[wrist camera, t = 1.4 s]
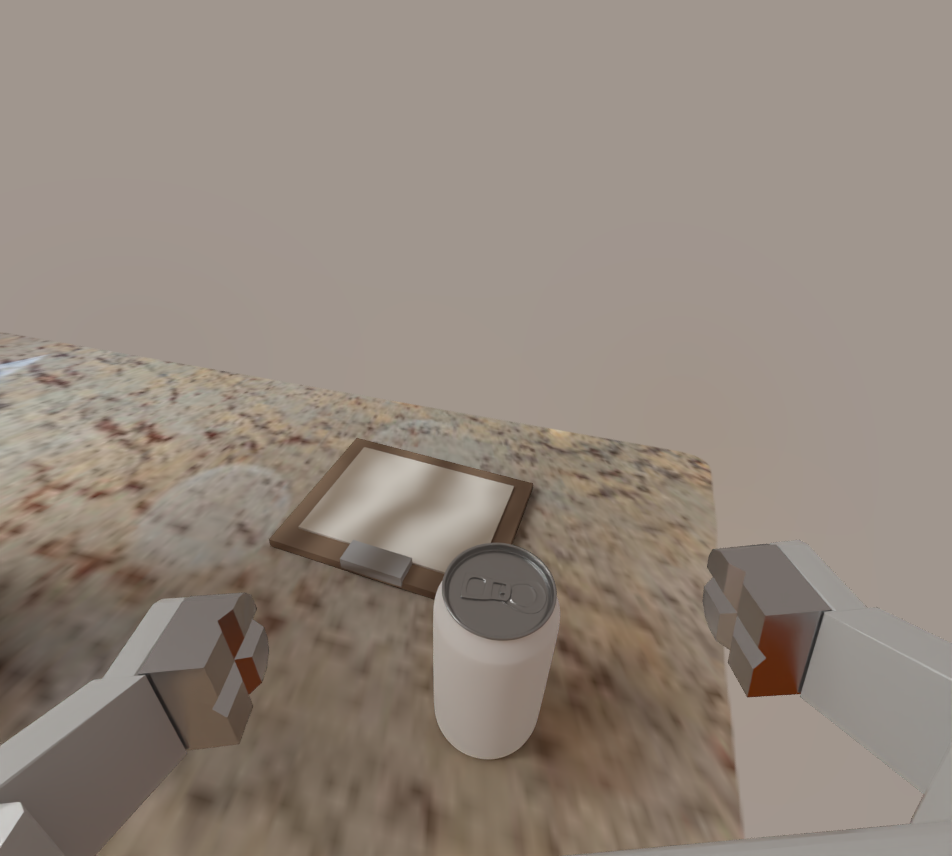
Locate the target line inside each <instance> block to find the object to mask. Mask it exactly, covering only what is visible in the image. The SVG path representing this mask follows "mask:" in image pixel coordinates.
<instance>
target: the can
mask: <svg viewBox="0 0 952 856" xmlns="http://www.w3.org/2000/svg"><path fill="white" fill-rule="evenodd" d="M559 624H560V606H559V601H558V598H557V591H556V585H555V581H554V579H553V576H552V574H551V572H550V571H549V569H548V568H547V566H546V565H545V564H544V563H543V562H542V561H541V560H540V559H539V558H538V557H537V556H535V555H534V554H532V553H531V552H529V551H527V550H525V549H523V548H521V547H518V546H515V545H511V544H506V543H485V544H480V545H476V546H473V547H471V548H469V549H467V550H465V551H463V552H462V553H460V554H459V555H458V556H456V557H455V558H454V559H453V561H452V562H451V563H450V564H449V566H448V567H447V569H446V571H445V574H444V576H443V580H442V582H441V583H440V585H439V587H438V590H437V592H436V596H435V601H434V610H433V675H434V709H435V715H436V720H437V723H438V725H439V728H440V730H441V732H442V733H443V735H444V736H445V738H446V739H447V740H448V741H449V742H450V743H451V744H452V745H453V746H454V747H455V748H456V749H458V750H459V751H461V752H462V753H464V754H466V755H469V756H471V757H475V758H479V759H497V758H501V757H505V756H507V755H509V754H511V753H513V752H515V751H516V750H518V749H519V748H520V747H521V746H522V745H523V744H524V743H525V742H526V741H527V740H528V738H529V737H530V735H531V734H532V732H533V730H534V728H535V726H536V723H537V719H538V715H539V712H540V708H541V703H542V699H543V695H544V691H545V687H546V683H547V679H548V674H549V670H550V666H551V662H552V657H553V653H554V649H555V644H556V640H557V635H558V630H559Z"/></svg>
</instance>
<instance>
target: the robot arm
mask: <svg viewBox="0 0 952 856" xmlns="http://www.w3.org/2000/svg"><path fill="white" fill-rule="evenodd" d="M707 568H708V569H709V571H710V573H711V574H712V576H713V578H712V579H711V580H710V581H709V582H708V583H707V584H706V585H705V586H704V593H703V606H704V613H705V618H706V621H707V623H708V626H709V629H710V631H711V633H712V634H713V636H714V638H715V640H716V641H717V642H719V643H720V644H722V645H723V646H725V647H726V648H728V649H729V650H730V653H729V659H728V664H729V665H730V667H731V669H732V671H733V672H734V675H735V676H736V678H737V680H738V682H739V683H740V685H741V687H742V689H743V690H744V692H745V694H746V696H747V697H760V696H776V695H792V694H801V695H800V697H801V698H802V699H804V700H805V701H806V702H807V703H809V704H810V705H811V706H812V707H814V708H815V709H816V710H817V711H819V712H820V713H821V714H823V715H824V716H825V717H827V718H828V719H829V720H830V721H831V722H833V723H834V724H835V725H837V726H838V727H839V728H840V729H842V730H843V731H844V732H846V733H847V734H848V735H849V736H850V737H852V738H853V739H854V740H855V741H857V742H858V743H859V744H861V745H862V746H863V747H864V748H866V749H867V750H868V751H870V752H871V753H872V754H873V755H875V756H876V757H877V758H878V759H880V760H881V761H882V762H883V763H885V764H886V765H887V766H888V767H890V768H891V769H892V770H894V771H895V772H896V773H897V774H899V775H900V776H901V777H902V778H904V779H905V780H906V781H907V782H909V783H910V784H911V785H913V786H914V787H915V788H916V789H918V790H919V791H920V792H921V793H923V794H924V795H923V797H922V799H921V801H920V803H919V805H918V807H917V809H916V811H915V812H914V815H913V816H912V818H911V822H910V824H902V825H891V826H880V827H869V828H859V829H848V830H837V831H826V832H816V833H804V834H793V835H783V836H773V837H761V838H750V839H739V840H728V841H717V842H706V843H695V844H684V845H673V846H662V847H651V848H640V849H630V850H619V851H608V852H597V853H586V854H575V855H564V856H952V643H950V642H948V641H946V640H944V639H942V638H940V637H938V636H936V635H934V634H932V633H929V632H927V631H926V630H923V629H921V628H919V627H917V626H915V625H913V624H911V623H909V622H907V621H905V620H903V619H900V618H899V617H897V616H894V615H892V614H890V613H888V612H886V611H884V610H882V609H880V608H878V607H876V608H875V607H874V608H867V607H866V605H864V603H863V602H862V601H861V600H860V599H859V598H858V597H857V596H856V595H855V594H854V593H853V592H852V591H851V590H850V588H848V587H847V585H846V584H844V582H843V581H842V580H841V579H840V578H839V577H838V576H837V575H836V574H835V573H834V571H833V570H832V569H831V568H830V567H829V566H828V565H827V564H826V563H825V562H824V561H823V560H822V559H821V558H820V557H819V556H818V554H816V552H815V551H814V550H813V549H812V548H811V547H810V546H809V545H808V544H807V543H805V542H803V541H801V540H793V541H784V542H775V543H770V544H760V545H750V546H740V547H730V548H720V549H713V550H712V551H711V553H710V555H709V558H708V564H707ZM256 610H257V607H256V605H255V603H254V600H253V598H252V595H250V594H247V593H232V594H218V595H203V596H190V597H184V598H168V599H161V600H159V601H158V602H156V603H154V604H153V605H152V606H151V608H150V609H149V611H148V612H147V614H146V615H145V617H144V618H143V620H142V621H141V623H140V624H139V625H138V627H137V628H136V630H135V631H134V633H133V634H132V636H131V637H130V639H129V640H128V642H127V643H126V645H125V646H124V647H123V649H122V650H121V652H120V653H119V655H118V656H117V658H116V659H115V661H114V662H113V664H112V665H111V667H110V668H109V669H108V671H107V672H106V674H105V675H104V677H103V678H102V679H96V680H92V681H90V682H89V683H87V684H86V685H85V686H83V687H82V688H80V689H79V690H78V691H76V692H75V693H73V694H72V695H71V696H69V697H68V698H66V699H65V700H64V701H62V702H61V703H59V704H58V705H57V706H55V707H54V708H52V709H51V710H50V711H48V712H47V713H45V714H44V715H43V716H41V717H40V718H38V719H37V720H36V721H34V722H33V723H31V724H30V725H29V726H27V727H26V728H24V729H23V730H22V731H20V732H19V733H17V734H16V735H14V736H13V737H12V738H10V739H9V740H7V741H6V742H5V743H3V744H2V745H0V856H95V855H96V854H97V853H98V852H99V851H100V850H101V848H102V847H103V846H104V845H105V844H106V843H107V842H108V841H109V840H110V838H111V837H112V836H113V835H114V834H115V833H116V832H117V831H118V830H119V829H120V827H121V826H122V825H123V824H124V823H125V822H126V821H127V820H128V819H129V817H130V816H131V815H132V814H133V813H134V812H135V811H136V810H137V809H138V808H139V806H140V805H141V804H142V803H143V802H144V801H145V800H146V799H147V798H148V796H149V795H150V794H151V793H152V792H153V791H154V790H155V789H156V788H157V787H158V785H159V784H160V783H161V782H162V781H163V780H164V779H165V778H166V777H167V775H168V774H169V773H170V772H171V771H172V770H173V769H174V768H175V767H176V766H177V764H178V763H179V762H180V761H181V760H182V759H183V758H184V757H185V756H186V754H187V750H196V749H204V748H212V747H220V746H228V745H237V744H239V743H240V741H241V738H242V735H243V733H244V730H245V727H246V724H247V722H248V719H249V716H250V714H251V711H252V708H253V705H252V702H251V700H250V697H249V694H250V693H251V692H252V691H254V690H255V689H256V688H257V687H258V686H259V685H260V684H261V683H262V681H263V678H264V675H265V672H266V669H267V663H268V654H269V646H268V638H267V635H266V632H265V629H264V627H263V626H262V625H260V624H259V623H257V622H256V621H255V620H253V617H254V615H255V612H256Z"/></svg>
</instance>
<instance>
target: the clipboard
mask: <svg viewBox="0 0 952 856" xmlns="http://www.w3.org/2000/svg"><path fill="white" fill-rule="evenodd" d="M532 488H533V483H529V482H525V481H521V480H517V479H514V478H510V477H506V476H502V475H498V474H494V473H490V472H486V471H483V470H479V469H475V468H471V467H467V466H463V465H459V464H456V463H452V462H448V461H444V460H440V459H436V458H432V457H429V456H425V455H421V454H417V453H413V452H409V451H405V450H401V449H398V448H394V447H390V446H386V445H382V444H378V443H374V442H371V441H367V440H363V439H359V438H356V440H355V441H354V442H353V443H352V444H351V445H350V446H349V448H348V449H347V450H346V451H345V452H344V453H343V455H342V456H341V457H340V458H339V459H338V460H337V461H336V463H335V464H334V465H333V466H332V467H331V468H330V470H329V471H328V472H327V473H326V474H325V475H324V476H323V478H322V479H321V480H320V481H319V482H318V483H317V485H316V486H315V487H314V488H313V489H312V490H311V491H310V493H309V494H308V495H307V496H306V497H305V498H304V500H303V501H302V502H301V503H300V504H299V505H298V506H297V508H296V509H295V510H294V511H293V512H292V513H291V515H290V516H289V517H288V518H287V519H286V520H285V521H284V523H283V524H282V525H281V526H280V527H279V528H278V530H277V531H276V532H275V533H274V534H273V535H272V537H271V538H270V539H269V541H270V544H271V546H272V547H275V548H278V549H282V550H285V551H288V552H291V553H294V554H297V555H300V556H303V557H306V558H309V559H312V560H315V561H318V562H321V563H324V564H328V565H331V566H334V567H337V568H340V569H343V570H346V571H349V572H352V573H355V574H358V575H361V576H364V577H367V578H370V579H374V580H377V581H380V582H383V583H386V584H389V585H392V586H395V587H398V588H401V589H404V590H407V591H410V592H413V593H416V594H420V595H423V596H426V597H429V598H432V599H435V596H436V592H437V590H438V587H439V585H440V583H441V582H442V580H443V576H444V574H445V571H446V569H447V567H448V566H449V564H450V563H451V562H452V561H453V559H454V558H455V557H456V556H458V555H459V554H460V553H462V552H463V551H465V550H467V549H469V548H471V547H473V546H476V545H480V544H485V543H506V544H511V545H512V543H513V540H514V537H515V535H516V532H517V529H518V527H519V524H520V521H521V519H522V516H523V513H524V511H525V508H526V505H527V503H528V500H529V497H530V495H531V492H532Z"/></svg>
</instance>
